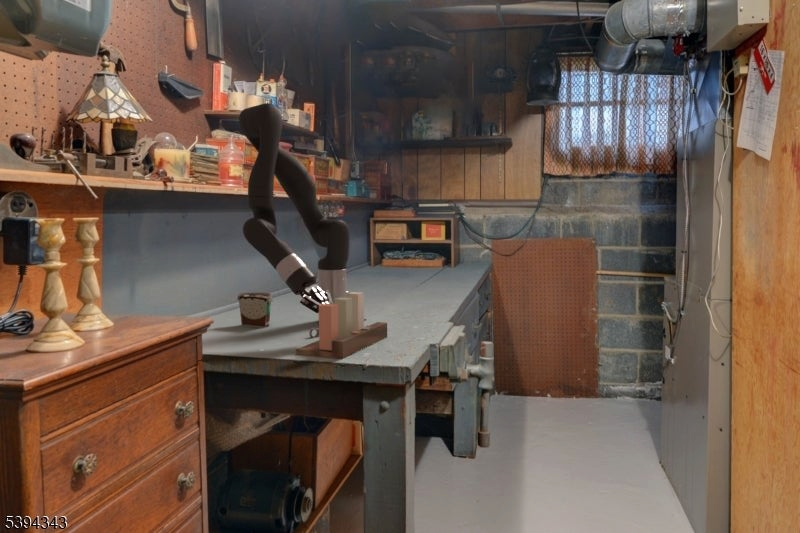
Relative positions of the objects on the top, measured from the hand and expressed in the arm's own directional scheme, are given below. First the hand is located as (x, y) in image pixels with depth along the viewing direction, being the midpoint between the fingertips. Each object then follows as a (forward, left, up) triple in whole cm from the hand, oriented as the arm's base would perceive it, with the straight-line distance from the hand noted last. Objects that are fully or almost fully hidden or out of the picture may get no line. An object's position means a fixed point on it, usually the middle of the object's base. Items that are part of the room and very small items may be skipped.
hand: (335, 321), depth 161 cm
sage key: (-1, +2, -5) cm, 5 cm away
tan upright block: (-10, -4, -5) cm, 12 cm away
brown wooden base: (-1, +2, -6) cm, 7 cm away
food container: (-1, -39, -7) cm, 40 cm away
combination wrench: (-10, -10, -7) cm, 16 cm away
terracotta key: (+9, +8, -5) cm, 13 cm away
